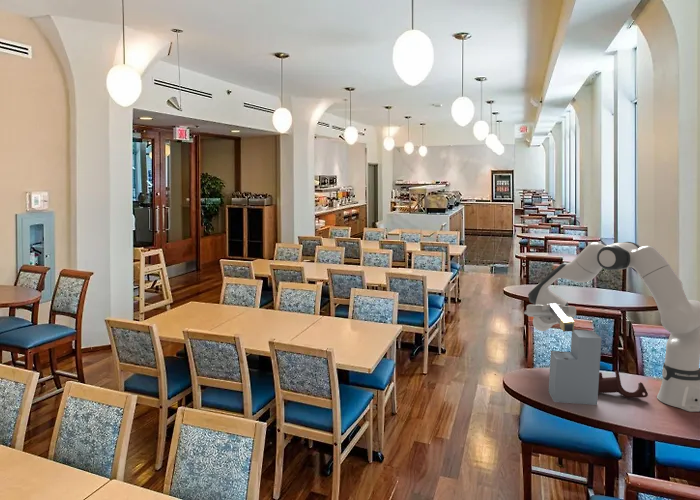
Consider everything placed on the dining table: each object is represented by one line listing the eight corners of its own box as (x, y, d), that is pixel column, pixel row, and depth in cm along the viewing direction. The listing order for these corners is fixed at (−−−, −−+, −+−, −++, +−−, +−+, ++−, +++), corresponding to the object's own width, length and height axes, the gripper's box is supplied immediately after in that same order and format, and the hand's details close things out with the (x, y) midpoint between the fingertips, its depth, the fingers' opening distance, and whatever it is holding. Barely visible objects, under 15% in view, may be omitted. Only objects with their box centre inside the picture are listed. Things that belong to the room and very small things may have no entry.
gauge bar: (557, 309, 219) (557, 301, 218) (574, 330, 200) (574, 321, 199) (547, 310, 219) (547, 301, 218) (563, 331, 200) (563, 322, 199)
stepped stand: (589, 394, 203) (593, 330, 200) (597, 404, 194) (601, 338, 190) (548, 391, 206) (552, 328, 203) (554, 401, 196) (557, 336, 193)
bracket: (649, 397, 194) (643, 368, 197) (597, 399, 201) (592, 371, 204) (647, 397, 200) (641, 369, 203) (596, 399, 206) (592, 372, 210)
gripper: (523, 307, 232) (528, 297, 219) (570, 309, 228) (578, 299, 216) (523, 320, 229) (528, 312, 217) (571, 323, 226) (580, 314, 213)
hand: (554, 306), depth 216 cm, fingers closed on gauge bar, 3 cm apart
